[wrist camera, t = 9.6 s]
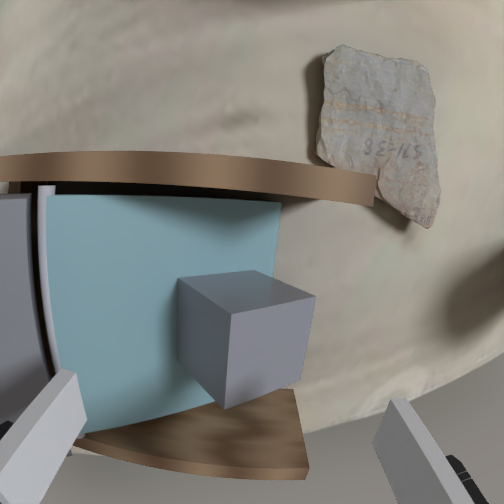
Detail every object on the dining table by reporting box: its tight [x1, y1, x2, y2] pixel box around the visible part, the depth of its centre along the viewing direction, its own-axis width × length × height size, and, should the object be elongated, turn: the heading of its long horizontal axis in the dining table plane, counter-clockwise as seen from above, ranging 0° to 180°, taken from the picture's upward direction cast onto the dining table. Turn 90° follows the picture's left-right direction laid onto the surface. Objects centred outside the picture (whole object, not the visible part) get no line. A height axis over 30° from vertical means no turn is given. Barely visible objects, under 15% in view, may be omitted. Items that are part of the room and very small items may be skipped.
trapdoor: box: [0, 185, 281, 457], centre depth 18 cm, size 23×17×5 cm
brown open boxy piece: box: [0, 151, 377, 480], centre depth 20 cm, size 26×20×10 cm
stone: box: [315, 45, 440, 229], centre depth 22 cm, size 15×11×3 cm
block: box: [177, 270, 316, 410], centre depth 19 cm, size 6×6×6 cm
